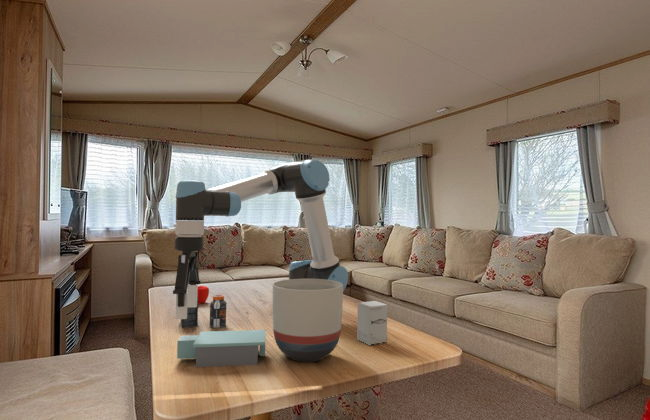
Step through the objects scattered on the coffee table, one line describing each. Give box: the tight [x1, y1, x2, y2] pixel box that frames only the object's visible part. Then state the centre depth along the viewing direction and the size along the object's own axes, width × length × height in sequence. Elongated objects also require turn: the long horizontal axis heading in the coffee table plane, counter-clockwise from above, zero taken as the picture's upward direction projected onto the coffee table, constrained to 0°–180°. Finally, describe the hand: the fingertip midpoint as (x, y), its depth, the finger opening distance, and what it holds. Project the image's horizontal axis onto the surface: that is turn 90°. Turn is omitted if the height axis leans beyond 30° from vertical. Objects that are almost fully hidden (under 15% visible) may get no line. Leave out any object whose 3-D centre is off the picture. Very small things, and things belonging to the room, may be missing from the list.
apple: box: [197, 285, 210, 305], centre depth 180 cm, size 9×9×8 cm
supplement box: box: [356, 300, 388, 346], centre depth 126 cm, size 7×7×13 cm
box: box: [180, 298, 199, 329], centre depth 143 cm, size 8×6×11 cm
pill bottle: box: [209, 294, 227, 329], centre depth 142 cm, size 6×6×11 cm
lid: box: [176, 329, 267, 360], centre depth 106 cm, size 24×12×5 cm, turn 98°
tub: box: [195, 345, 260, 368], centre depth 106 cm, size 16×11×6 cm
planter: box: [272, 278, 344, 363], centre depth 110 cm, size 20×20×21 cm
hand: (187, 312), depth 105 cm, fingers open, 13 cm apart
